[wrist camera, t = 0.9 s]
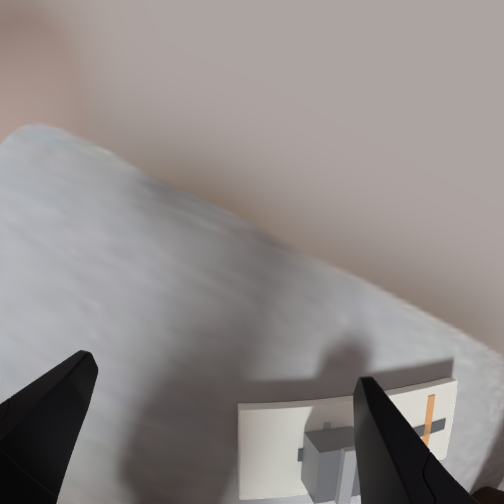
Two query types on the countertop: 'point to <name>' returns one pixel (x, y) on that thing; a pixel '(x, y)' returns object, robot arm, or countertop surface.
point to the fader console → (322, 418)
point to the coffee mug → (489, 496)
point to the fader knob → (330, 465)
